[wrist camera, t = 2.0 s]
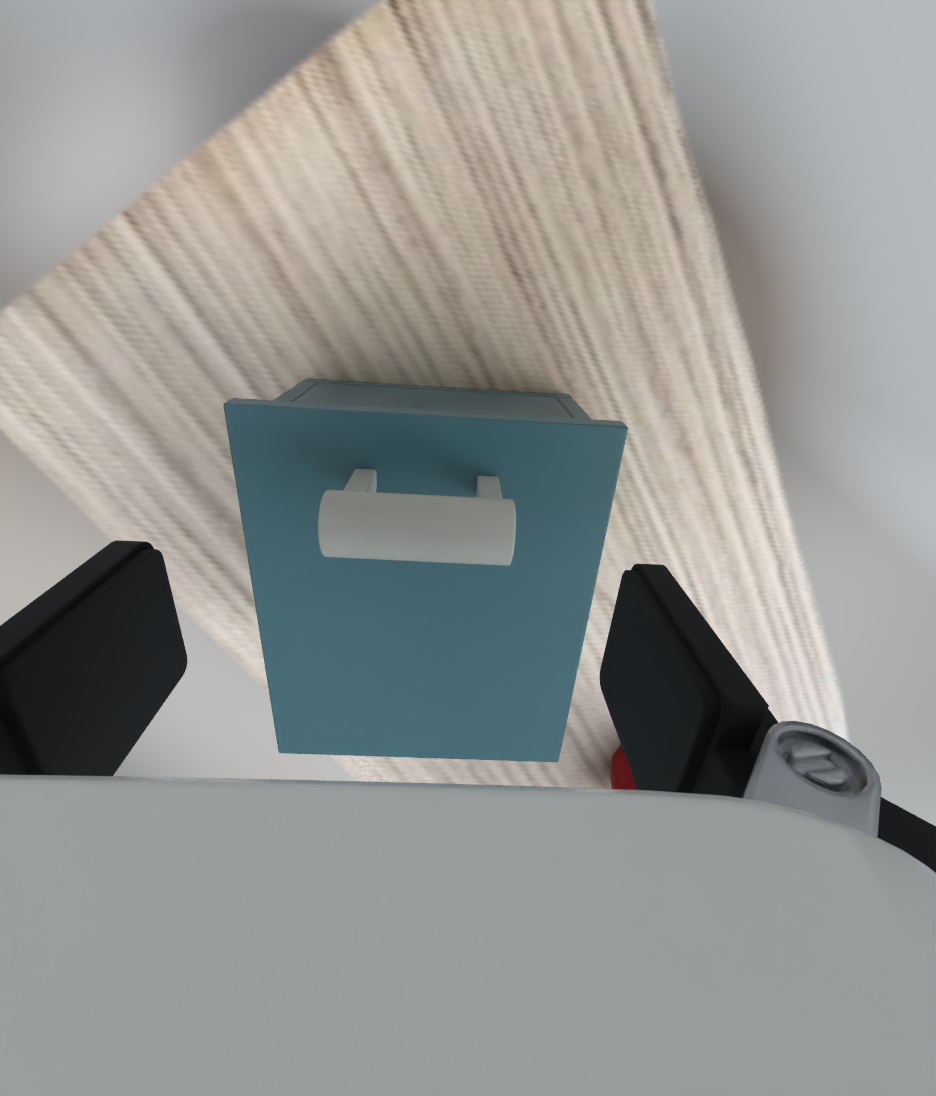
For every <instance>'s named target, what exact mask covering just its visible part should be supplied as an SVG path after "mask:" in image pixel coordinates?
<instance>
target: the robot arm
mask: <svg viewBox="0 0 936 1096" xmlns="http://www.w3.org/2000/svg"><path fill="white" fill-rule="evenodd" d="M186 666H187V654H186V650H185V646H184V642H183V638H182V634H181V629H180V626H179V622H178V617H177V613H176V609H175V604H174V600H173V596H172V592H171V588H170V584H169V580H168V575H167V571H166V567H165V563H164V559H163V556H162V553H161V552H160V551H159V550H157V549H154V548H153V546H152V545H151V544H150V543H148V542H138V541H114V542H111V543H110V544H109V545H107V546H106V547H105V548H103V549H102V550H101V551H99V552H98V553H97V554H95V555H94V556H93V557H91V558H90V559H89V560H87V561H86V562H85V563H83V564H82V565H81V566H79V567H78V568H77V569H75V570H74V571H73V572H72V573H70V574H69V575H67V576H66V577H65V578H63V579H62V580H61V581H59V582H58V583H57V584H56V585H54V586H53V587H51V588H50V589H49V590H47V591H46V592H45V593H43V594H42V595H41V596H39V597H38V598H37V599H35V600H34V601H33V602H31V603H30V604H29V605H27V606H26V607H25V608H23V609H22V610H21V611H20V612H18V613H17V614H15V615H14V616H13V617H11V618H10V619H9V620H8V621H6V622H5V623H3V624H2V625H1V626H0V1096H936V826H934V825H932V824H930V823H928V822H926V821H924V820H923V819H921V818H919V817H917V816H915V815H913V814H911V813H910V812H908V811H906V810H904V809H902V808H900V807H898V806H897V805H895V804H893V803H891V802H889V801H887V800H885V799H884V798H882V797H881V783H880V778H879V775H878V773H877V772H876V770H875V768H874V766H873V765H872V763H871V762H870V761H869V760H868V759H867V758H866V757H865V756H864V755H863V754H862V753H861V752H860V751H859V750H858V749H857V748H855V747H854V746H853V745H851V744H850V743H849V742H847V741H846V740H845V739H843V738H841V737H839V736H837V735H836V734H834V733H832V732H830V731H828V730H826V729H823V728H820V727H818V726H815V725H812V724H808V723H803V722H797V721H786V722H780V723H778V721H777V720H776V719H775V717H774V716H773V715H772V713H771V712H770V711H769V709H768V706H769V705H768V704H767V703H766V701H765V700H764V699H763V697H762V696H761V695H760V693H759V692H758V690H757V689H756V688H755V686H754V685H753V684H752V682H751V681H750V680H749V678H748V677H747V676H746V674H745V673H744V672H743V670H742V669H741V668H740V666H739V665H738V663H737V662H736V661H735V659H734V658H733V657H732V655H731V654H730V653H729V651H728V650H727V649H726V647H725V646H724V645H723V643H722V642H721V640H720V639H719V638H718V636H717V635H716V634H715V632H714V631H713V630H712V628H711V627H710V626H709V624H708V623H707V622H706V620H705V619H704V618H703V616H702V615H701V613H700V612H699V611H698V609H697V608H696V607H695V605H694V604H693V603H692V601H691V600H690V599H689V597H688V596H687V595H686V593H685V592H684V590H683V589H682V588H681V586H680V585H679V584H678V582H677V581H676V580H675V578H674V577H673V576H672V574H671V573H670V572H669V570H668V569H667V567H665V566H664V565H653V564H635V565H634V566H633V567H632V569H631V570H626V571H624V573H623V575H622V579H621V583H620V587H619V592H618V596H617V600H616V605H615V609H614V613H613V618H612V622H611V626H610V631H609V635H608V639H607V644H606V648H605V652H604V657H603V661H602V665H601V669H600V686H601V690H602V692H603V695H604V698H605V701H606V704H607V706H608V709H609V712H610V715H611V718H612V720H613V723H614V726H615V729H616V732H617V734H618V737H619V740H620V743H621V746H622V748H623V751H624V754H625V757H626V760H627V762H628V765H629V768H630V771H631V774H632V776H633V779H634V782H635V785H636V788H637V790H620V789H593V788H569V787H535V786H502V785H468V784H435V783H397V782H357V781H317V780H316V781H315V780H273V779H230V778H229V779H228V778H226V779H225V778H176V777H121V776H113V775H114V773H115V772H116V771H117V769H118V768H119V766H120V765H121V763H122V762H123V761H124V759H125V758H126V756H127V755H128V753H129V752H130V751H131V749H132V748H133V746H134V745H135V743H136V742H137V740H138V739H139V737H140V736H141V735H142V733H143V732H144V731H145V729H146V727H147V726H148V725H149V723H150V722H151V720H152V719H153V718H154V716H155V715H156V713H157V712H158V710H159V709H160V708H161V706H162V705H163V703H164V702H165V700H166V699H167V698H168V696H169V695H170V693H171V692H172V690H173V689H174V688H175V686H176V685H177V683H178V682H179V680H180V679H181V677H182V676H183V674H184V672H185V670H186Z"/></svg>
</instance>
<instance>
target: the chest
mask: <svg viewBox="0 0 936 1096" xmlns="http://www.w3.org/2000/svg"><path fill="white" fill-rule="evenodd" d="M273 401H289V402H305V403H322V404H339V405H356V406H373V407H390V408H406V409H423V410H440V411H457V412H474V413H490V414H507V415H524V416H541V417H558V418H574V419H591V418H590V417H589V416H588V415H587V413H586V412H585V411H584V410H583V409H582V408H581V407H580V406H579V405H578V404H577V403H576V402H575V401H574V399H573V398H572V397H571V396H570V395H564V394H548V393H531V392H515V391H499V390H482V389H466V388H450V387H434V386H417V385H401V384H385V383H368V382H352V381H336V380H319V379H305V380H303V381H302V382H301V383H299V384H297V385H296V386H294V387H293V388H291V389H290V390H288V391H287V392H285V393H284V394H282V395H281V396H279V397H277V398H276V399H274V400H273ZM591 420H592V419H591Z"/></svg>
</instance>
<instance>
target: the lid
mask: <svg viewBox="0 0 936 1096" xmlns="http://www.w3.org/2000/svg"><path fill="white" fill-rule="evenodd" d="M224 411H225V417H226V424H227V430H228V436H229V442H230V449H231V455H232V461H233V468H234V474H235V480H236V486H237V493H238V499H239V505H240V512H241V518H242V524H243V530H244V537H245V543H246V549H247V556H248V562H249V568H250V574H251V581H252V587H253V593H254V600H255V606H256V612H257V618H258V625H259V631H260V637H261V644H262V650H263V656H264V662H265V669H266V675H267V681H268V688H269V694H270V700H271V706H272V713H273V719H274V725H275V731H276V738H277V744H278V750H279V753H297V754H326V755H356V756H387V757H417V758H448V759H478V760H509V761H539V762H558V760H559V755H560V751H561V746H562V741H563V736H564V731H565V727H566V722H567V717H568V712H569V708H570V703H571V698H572V693H573V688H574V684H575V679H576V674H577V669H578V665H579V660H580V655H581V650H582V645H583V641H584V636H585V631H586V626H587V621H588V617H589V612H590V607H591V602H592V598H593V593H594V588H595V583H596V578H597V574H598V569H599V564H600V559H601V555H602V550H603V545H604V540H605V535H606V531H607V526H608V521H609V516H610V511H611V507H612V502H613V497H614V492H615V488H616V483H617V478H618V473H619V468H620V464H621V459H622V454H623V449H624V445H625V440H626V435H627V430H628V427H627V426H626V425H625V424H623V423H622V422H621V421H608V420H591V419H574V418H558V417H541V416H524V415H507V414H490V413H474V412H457V411H440V410H423V409H406V408H390V407H373V406H356V405H339V404H322V403H305V402H289V401H272V400H255V399H238V398H233V399H231V400H229V401H227V402H226V403H224Z"/></svg>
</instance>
